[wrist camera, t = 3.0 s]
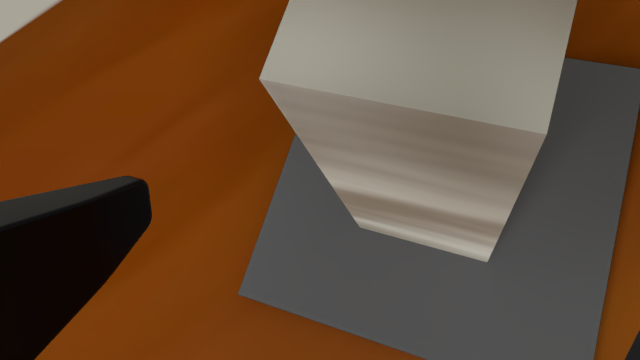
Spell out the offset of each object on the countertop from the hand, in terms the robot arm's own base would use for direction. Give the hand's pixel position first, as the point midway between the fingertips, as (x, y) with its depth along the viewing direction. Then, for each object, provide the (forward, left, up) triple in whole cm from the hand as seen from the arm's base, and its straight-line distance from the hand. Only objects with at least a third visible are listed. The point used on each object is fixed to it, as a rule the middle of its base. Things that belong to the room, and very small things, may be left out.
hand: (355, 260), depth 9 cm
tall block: (+4, +3, -11) cm, 12 cm away
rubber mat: (+4, +3, -11) cm, 13 cm away
